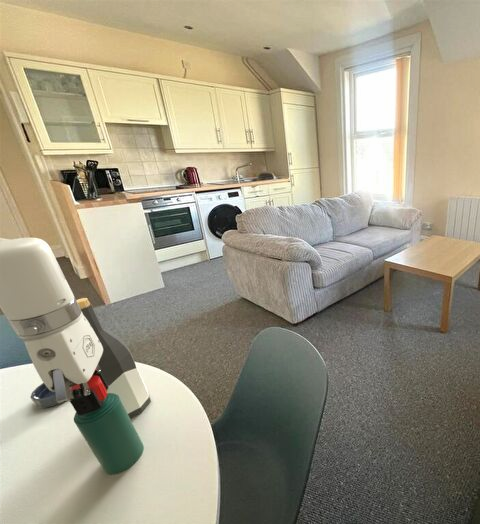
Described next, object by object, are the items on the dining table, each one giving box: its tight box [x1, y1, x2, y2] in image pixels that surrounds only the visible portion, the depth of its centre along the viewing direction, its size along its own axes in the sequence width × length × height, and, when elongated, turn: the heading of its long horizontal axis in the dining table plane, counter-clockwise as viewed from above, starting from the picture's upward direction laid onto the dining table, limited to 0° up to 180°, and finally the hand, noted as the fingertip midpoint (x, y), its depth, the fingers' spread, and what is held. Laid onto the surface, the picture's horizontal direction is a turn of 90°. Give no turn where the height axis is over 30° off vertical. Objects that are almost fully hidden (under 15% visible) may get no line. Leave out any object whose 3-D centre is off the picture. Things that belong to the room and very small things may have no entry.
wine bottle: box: [76, 297, 152, 419], centre depth 63 cm, size 8×8×30 cm
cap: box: [71, 375, 107, 402], centre depth 51 cm, size 4×4×4 cm
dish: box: [29, 380, 72, 409], centre depth 73 cm, size 9×9×3 cm
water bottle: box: [73, 393, 145, 475], centre depth 54 cm, size 7×7×19 cm
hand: (94, 400), depth 52 cm, fingers closed on cap, 3 cm apart
